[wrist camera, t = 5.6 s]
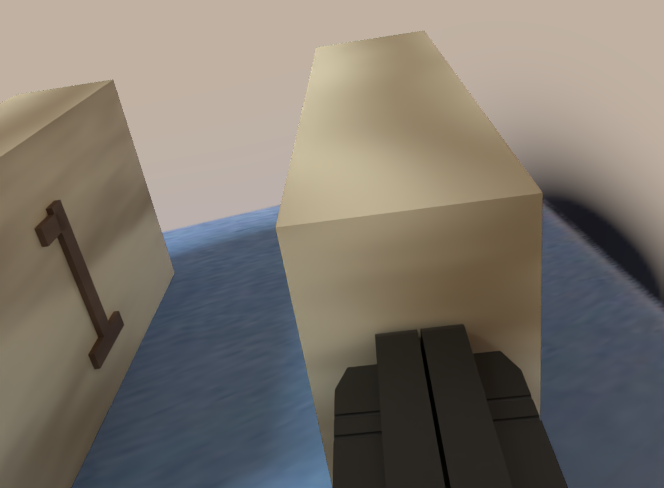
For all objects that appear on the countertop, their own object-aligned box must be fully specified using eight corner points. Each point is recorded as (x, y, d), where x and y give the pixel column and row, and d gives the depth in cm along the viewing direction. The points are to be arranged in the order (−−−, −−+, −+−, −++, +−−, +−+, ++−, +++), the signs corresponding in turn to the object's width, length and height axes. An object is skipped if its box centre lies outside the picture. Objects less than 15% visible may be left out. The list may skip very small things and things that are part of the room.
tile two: (354, 587, 13) (275, 227, 9) (349, 256, 27) (316, 47, 22) (548, 573, 13) (556, 190, 9) (445, 244, 26) (429, 29, 22)
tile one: (-130, 606, 15) (-383, 305, 11) (92, 285, 28) (16, 94, 24) (30, 593, 15) (-168, 277, 10) (179, 274, 28) (118, 78, 24)
